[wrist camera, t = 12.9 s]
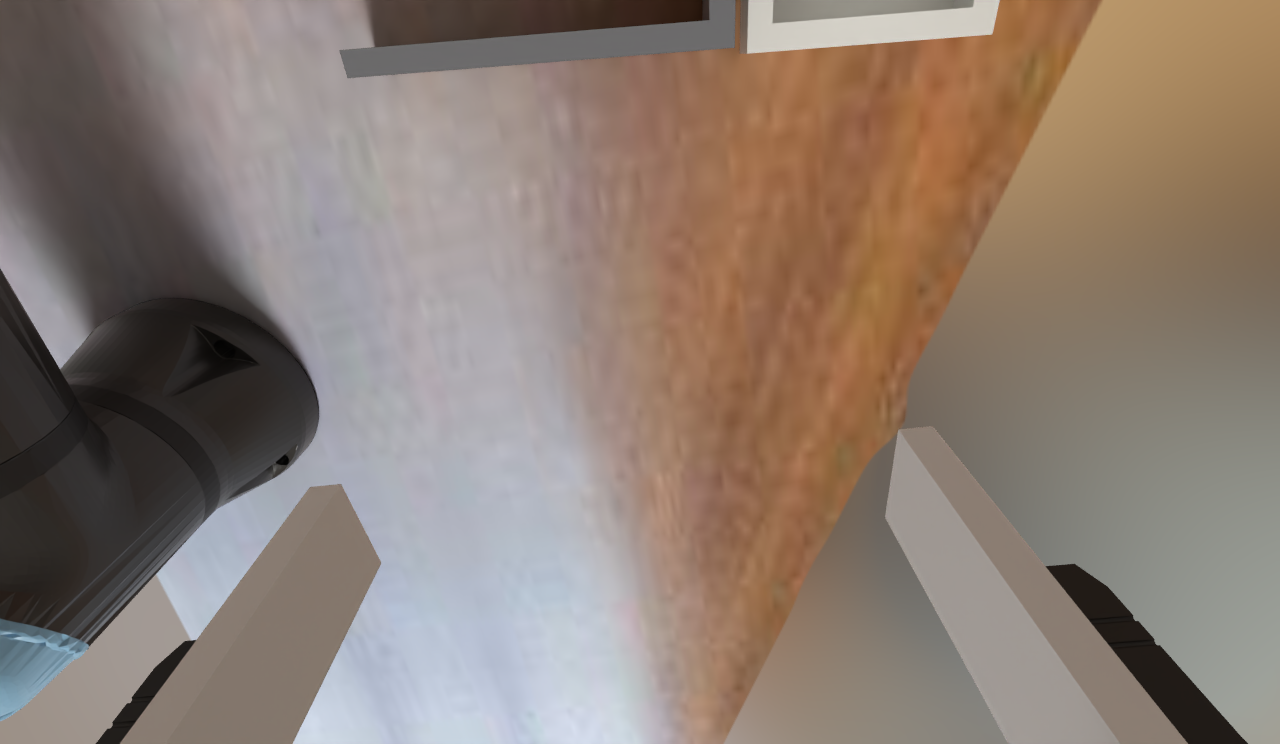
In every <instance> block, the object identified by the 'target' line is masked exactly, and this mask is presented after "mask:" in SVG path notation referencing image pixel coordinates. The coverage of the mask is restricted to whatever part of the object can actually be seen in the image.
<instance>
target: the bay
mask: <svg viewBox="0 0 1280 744" xmlns="http://www.w3.org/2000/svg"><path fill="white" fill-rule="evenodd" d="M702 2H703V21H693V22H681V23H669V24H656V25H644V26H632V27H619V28H607V29H595V30H583V31H570V32H558V33H546V34H533V35H521V36H509V37H496V38H484V39H472V40H460V41H447V42H435V43H423V44H410V45H398V46H386V47H374V48H361V49H349V50H339V51H340V54H341V57H342V61H343V64H344V68H345V71H346V74H347V78H355V77H368V76H381V75H393V74H406V73H419V72H431V71H444V70H457V69H469V68H482V67H495V66H508V65H520V64H533V63H546V62H558V61H571V60H584V59H597V58H609V57H622V56H635V55H647V54H660V53H673V52H686V51H698V50H711V49H724V48H735V0H702Z"/></svg>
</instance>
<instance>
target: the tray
mask: <svg viewBox="0 0 1280 744" xmlns="http://www.w3.org/2000/svg"><path fill="white" fill-rule="evenodd" d="M999 1H1000V0H741V13H740V53H746V54H747V53H760V52H773V51H786V50H798V49H811V48H824V47H837V46H850V45H862V44H875V43H888V42H901V41H914V40H926V39H939V38H952V37H965V36H978V35H991V34H992V33H993V29H994V24H995V19H996V15H997V10H998V5H999Z"/></svg>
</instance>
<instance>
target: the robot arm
mask: <svg viewBox="0 0 1280 744" xmlns="http://www.w3.org/2000/svg"><path fill="white" fill-rule="evenodd" d="M318 418H319V415H318V404H317V400H316V396H315V393H314V390H313V388H312V385H311V383H310V381H309V379H308V377H307V376H306V374H305V372H304V371H303V369H302V368H301V366H300V365H299V364H298V362H297V361H296V360H295V358H294V357H293V356H292V355H291V354H290V353H289V352H288V351H287V350H286V348H284V347H283V346H282V345H281V344H280V343H279V342H278V341H277V340H276V339H275V338H273V337H272V336H271V335H270V334H268V333H267V332H266V331H264V330H263V329H261V328H260V327H259V326H257V325H255V324H254V323H252V322H251V321H249V320H247V319H245V318H243V317H242V316H239V315H237V314H235V313H233V312H231V311H229V310H226V309H224V308H221V307H218V306H215V305H212V304H208V303H205V302H200V301H195V300H189V299H179V298H165V299H156V300H151V301H147V302H143V303H141V304H138V305H136V306H134V307H132V308H130V309H128V310H126V311H124V312H122V313H120V314H118V315H115V316H113V317H111V318H109V319H108V320H106V321H105V322H103V323H102V324H101V325H99V326H98V327H97V328H96V329H95V330H94V331H93V332H92V333H91V334H90V335H89V336H88V338H87V339H86V340H85V341H84V343H83V344H82V345H81V346H80V347H79V348H78V349H77V350H76V352H75V353H74V354H73V355H72V356H71V357H70V359H69V360H68V361H67V362H66V363H65V364H64V366H63V367H62V368H61V369H59V367H58V365H57V364H56V362H55V360H54V359H53V357H52V355H51V354H50V352H49V350H48V348H47V347H46V345H45V343H44V342H43V340H42V338H41V337H40V335H39V333H38V332H37V330H36V328H35V326H34V325H33V323H32V321H31V320H30V318H29V316H28V315H27V313H26V311H25V309H24V308H23V306H22V304H21V303H20V301H19V299H18V298H17V296H16V294H15V293H14V291H13V289H12V287H11V286H10V284H9V282H8V281H7V279H6V277H5V276H4V274H3V272H2V271H1V269H0V721H2V720H4V719H6V718H8V717H9V716H11V715H13V714H14V713H16V712H17V711H18V710H20V709H21V708H22V707H24V706H25V705H26V704H27V703H28V702H29V701H30V700H31V699H33V697H35V696H36V695H37V694H38V693H39V692H40V691H41V690H42V689H43V688H44V687H45V686H46V685H47V684H48V683H49V682H50V681H52V680H53V679H54V678H55V677H56V676H57V675H58V674H59V673H60V672H61V671H62V670H63V669H64V668H65V667H66V666H67V665H68V664H69V663H70V662H72V661H73V660H75V659H78V658H79V657H80V656H82V655H83V654H84V652H85V651H86V650H87V649H88V647H89V646H90V645H91V644H92V643H93V642H94V640H95V639H96V638H97V637H98V636H99V635H100V634H101V633H102V632H103V631H104V630H105V629H106V628H107V626H108V625H109V624H110V623H111V622H112V621H113V620H114V619H115V618H116V617H117V616H118V614H119V613H120V612H121V611H122V610H123V609H124V608H125V607H126V606H127V605H128V604H129V603H130V601H131V600H132V599H133V598H134V597H135V596H136V595H137V594H138V593H139V592H140V591H141V589H142V588H143V587H144V586H145V585H146V584H147V583H148V582H149V581H150V580H151V579H152V578H153V577H154V575H155V574H156V573H157V572H158V571H159V570H160V569H161V568H162V567H163V566H164V565H165V564H166V562H167V561H168V560H169V559H170V558H171V557H172V556H173V555H174V554H175V553H176V552H177V551H178V549H179V548H180V547H181V546H182V545H183V544H184V543H185V542H186V541H187V540H188V539H189V538H190V536H191V535H192V534H193V533H194V532H195V531H196V530H197V529H198V528H199V527H200V526H201V524H202V523H203V522H204V521H205V520H206V519H207V518H208V517H209V516H210V515H211V514H212V513H213V512H214V511H215V510H216V509H218V508H219V507H221V506H223V505H225V504H227V503H229V502H230V501H232V500H234V499H236V498H238V497H240V496H242V495H243V494H245V493H247V492H249V491H251V490H253V489H255V488H256V487H258V486H260V485H262V484H264V483H266V482H267V481H269V480H271V479H273V478H275V477H277V476H278V475H280V474H281V473H283V472H284V471H285V470H287V469H288V468H289V467H290V466H291V465H292V464H293V463H294V462H295V461H296V460H297V459H298V458H299V456H300V455H301V454H302V453H303V452H304V451H305V450H306V448H307V447H308V446H309V445H310V443H311V442H312V440H313V438H314V436H315V433H316V430H317V426H318ZM885 518H886V520H887V521H888V524H889V525H890V527H891V529H892V531H893V533H894V535H895V536H896V538H897V540H898V542H899V544H900V545H901V547H902V549H903V551H904V553H905V555H906V557H907V558H908V560H909V562H910V564H911V566H912V568H913V569H914V571H915V573H916V575H917V577H918V579H919V581H920V582H921V584H922V586H923V588H924V590H925V592H926V593H927V595H928V597H929V599H930V601H931V602H932V604H933V606H934V608H935V610H936V612H937V614H938V615H939V617H940V619H941V621H942V623H943V625H944V627H945V628H946V630H947V632H948V634H949V636H950V638H951V639H952V641H953V643H954V645H955V647H956V648H957V650H958V652H959V654H960V656H961V658H962V660H963V661H964V663H965V665H966V667H967V669H968V671H969V672H970V674H971V676H972V678H973V680H974V682H975V683H976V685H977V687H978V689H979V691H980V693H981V694H982V696H983V698H984V700H985V702H986V704H987V705H988V707H989V709H990V711H991V713H992V715H993V716H994V718H995V720H996V722H997V724H998V726H999V728H1000V729H1001V731H1002V733H1003V735H1004V737H1005V739H1006V740H1007V742H1008V744H1248V743H1247V742H1246V741H1245V740H1244V739H1243V738H1242V737H1241V736H1240V735H1239V734H1238V733H1237V731H1235V729H1234V728H1233V727H1232V726H1231V725H1230V724H1229V722H1228V721H1227V720H1226V719H1225V718H1224V717H1223V716H1222V715H1221V713H1220V712H1219V711H1218V710H1217V709H1216V708H1215V707H1214V706H1213V705H1212V703H1211V702H1210V701H1209V700H1208V699H1207V698H1206V697H1205V696H1204V694H1203V693H1202V692H1201V691H1200V690H1199V689H1198V688H1197V687H1196V685H1195V684H1194V683H1193V682H1192V681H1191V680H1190V679H1189V678H1188V676H1187V675H1186V674H1185V673H1184V672H1183V671H1182V670H1181V669H1180V667H1179V666H1178V665H1177V664H1176V663H1175V662H1174V661H1173V660H1172V658H1171V657H1170V656H1169V655H1168V654H1167V653H1166V652H1165V651H1164V649H1163V648H1162V647H1161V646H1160V645H1159V646H1157V645H1156V644H1155V642H1154V638H1153V637H1152V636H1151V635H1150V634H1149V633H1148V632H1147V630H1146V629H1145V628H1144V627H1143V626H1142V625H1141V624H1140V623H1139V621H1135V620H1134V619H1133V615H1132V614H1131V612H1130V611H1129V610H1128V609H1127V608H1126V607H1125V606H1124V605H1123V603H1122V602H1121V601H1120V600H1119V599H1118V598H1117V597H1116V596H1115V595H1114V593H1113V592H1112V591H1111V590H1110V589H1109V588H1108V587H1107V586H1106V585H1104V584H1103V583H1101V582H1100V581H1098V580H1097V579H1096V578H1094V577H1093V576H1091V575H1090V574H1088V573H1087V572H1085V571H1084V570H1082V569H1081V568H1080V567H1078V566H1077V565H1075V564H1068V565H1056V566H1045V565H1044V564H1043V563H1042V562H1041V560H1040V559H1039V558H1038V557H1037V555H1036V554H1035V553H1034V552H1033V550H1032V549H1031V548H1030V547H1029V545H1028V544H1027V543H1026V542H1025V540H1024V539H1023V538H1022V537H1021V535H1020V534H1019V533H1018V532H1017V531H1016V529H1015V528H1014V527H1013V526H1012V524H1011V523H1010V522H1009V521H1008V519H1007V518H1006V517H1005V516H1004V515H1003V513H1002V512H1001V511H1000V509H999V508H998V507H997V506H996V504H995V503H994V502H993V501H992V499H991V498H990V497H989V496H988V495H987V493H986V492H985V491H984V490H983V488H982V487H981V486H980V485H979V484H978V482H977V481H976V480H975V478H974V477H973V476H972V475H971V473H970V472H969V471H968V470H967V469H966V467H965V466H964V465H963V463H962V462H961V461H960V460H959V459H958V457H957V456H956V455H955V453H954V452H953V451H952V450H951V449H950V447H949V446H948V445H947V444H946V442H945V441H944V440H943V439H942V437H941V436H940V435H939V434H938V432H937V431H936V430H935V429H934V427H932V426H931V427H921V428H911V429H900V430H898V436H897V443H896V450H895V456H894V462H893V469H892V475H891V482H890V489H889V496H888V502H887V509H886V516H885ZM380 565H381V561H380V559H379V557H378V556H377V554H376V552H375V550H374V548H373V546H372V544H371V542H370V540H369V538H368V536H367V534H366V532H365V530H364V528H363V526H362V524H361V522H360V520H359V518H358V516H357V514H356V512H355V511H354V509H353V507H352V505H351V503H350V501H349V499H348V497H347V495H346V493H345V491H344V489H343V487H342V485H341V484H337V485H327V486H317V487H310V488H309V489H308V491H307V492H306V493H305V495H304V496H303V497H302V499H301V500H300V501H299V503H298V504H297V505H296V507H295V508H294V510H293V511H292V512H291V514H290V515H289V516H288V518H287V519H286V520H285V522H284V523H283V524H282V526H281V527H280V528H279V530H278V531H277V532H276V534H275V535H274V536H273V538H272V539H271V540H270V542H269V543H268V545H267V546H266V547H265V549H264V550H263V551H262V553H261V554H260V555H259V557H258V558H257V559H256V561H255V562H254V563H253V565H252V566H251V567H250V569H249V570H248V571H247V573H246V574H245V576H244V577H243V578H242V580H241V581H240V582H239V584H238V585H237V586H236V588H235V589H234V590H233V592H232V593H231V594H230V596H229V597H228V598H227V600H226V601H225V602H224V604H223V605H222V607H221V608H220V609H219V611H218V612H217V613H216V615H215V616H214V617H213V619H212V620H211V621H210V623H209V624H208V625H207V627H206V628H205V629H204V631H203V632H202V633H201V635H200V636H199V638H198V639H197V640H193V641H185V642H183V643H182V644H181V645H180V646H179V647H178V648H177V649H175V650H174V651H173V652H172V653H171V654H170V655H169V656H168V657H166V658H165V659H164V660H163V661H162V662H161V663H160V664H159V665H157V666H156V667H155V668H154V669H153V671H152V672H151V673H150V675H149V676H148V677H147V678H146V680H145V681H144V682H143V684H142V685H141V686H140V688H139V689H138V690H137V691H136V693H135V694H134V695H133V697H132V701H131V703H128V704H126V706H125V707H124V708H123V709H122V711H121V712H120V713H119V715H118V716H117V717H116V718H115V720H114V721H113V726H112V727H111V728H110V729H107V730H106V731H105V733H104V734H103V735H102V737H101V738H100V739H99V740H98V742H97V743H96V744H292V743H293V741H294V739H295V737H296V735H297V733H298V731H299V729H300V727H301V725H302V723H303V721H304V719H305V717H306V715H307V713H308V711H309V709H310V707H311V705H312V703H313V701H314V699H315V697H316V695H317V693H318V691H319V689H320V687H321V685H322V683H323V680H324V678H325V676H326V674H327V672H328V670H329V668H330V666H331V664H332V662H333V660H334V658H335V656H336V654H337V652H338V650H339V648H340V646H341V644H342V642H343V640H344V638H345V636H346V634H347V632H348V630H349V628H350V626H351V624H352V622H353V620H354V617H355V615H356V613H357V611H358V609H359V607H360V605H361V603H362V601H363V599H364V597H365V595H366V593H367V591H368V589H369V587H370V585H371V583H372V581H373V579H374V577H375V575H376V573H377V571H378V569H379V567H380Z"/></svg>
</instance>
